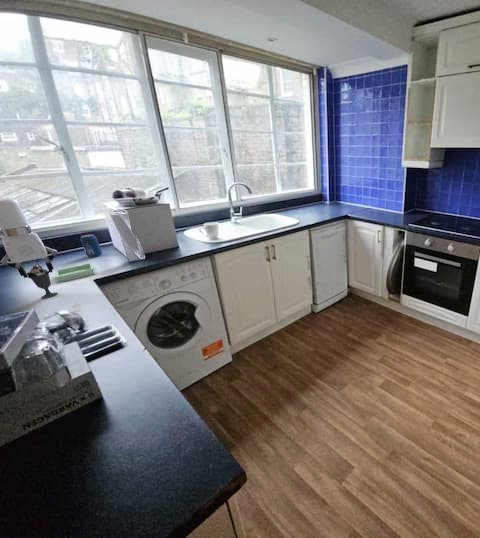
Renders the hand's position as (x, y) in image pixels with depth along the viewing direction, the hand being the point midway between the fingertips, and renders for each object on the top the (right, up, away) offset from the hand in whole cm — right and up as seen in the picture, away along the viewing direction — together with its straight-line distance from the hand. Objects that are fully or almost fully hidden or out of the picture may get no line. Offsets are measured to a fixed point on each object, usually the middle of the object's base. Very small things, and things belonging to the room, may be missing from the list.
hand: (38, 273), depth 119 cm
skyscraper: (+8, +7, +42) cm, 43 cm away
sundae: (0, -9, +4) cm, 10 cm away
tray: (-8, -1, +24) cm, 26 cm away
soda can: (-22, +10, +50) cm, 56 cm away
